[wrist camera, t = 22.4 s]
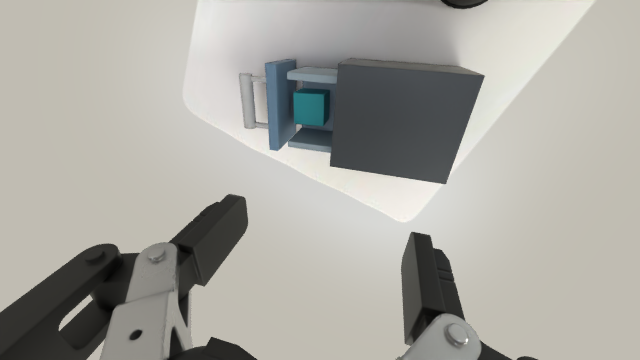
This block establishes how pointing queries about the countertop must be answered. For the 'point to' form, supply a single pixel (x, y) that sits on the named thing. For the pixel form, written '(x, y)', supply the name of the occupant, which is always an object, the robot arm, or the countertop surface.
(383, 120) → the dark grey drawer cabinet
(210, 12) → the countertop surface
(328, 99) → the teal cube
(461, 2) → the aerosol can
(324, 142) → the blue drawer
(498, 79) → the countertop surface
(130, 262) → the robot arm
